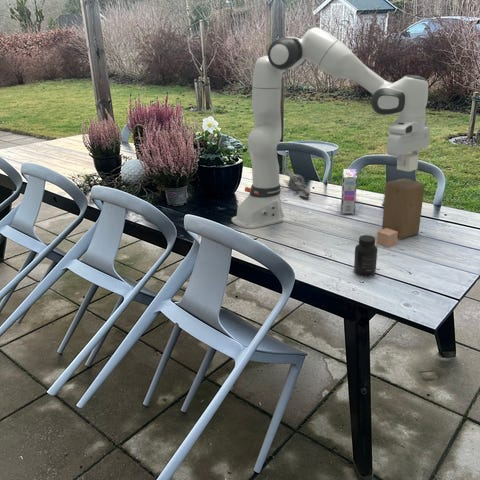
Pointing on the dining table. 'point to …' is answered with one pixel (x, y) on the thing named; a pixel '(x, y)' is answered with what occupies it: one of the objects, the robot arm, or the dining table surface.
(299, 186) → the spaceship
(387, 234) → the peach cube
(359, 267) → the supplement bottle
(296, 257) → the dining table surface
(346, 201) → the candy box
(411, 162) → the cream cube
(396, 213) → the wooden block
